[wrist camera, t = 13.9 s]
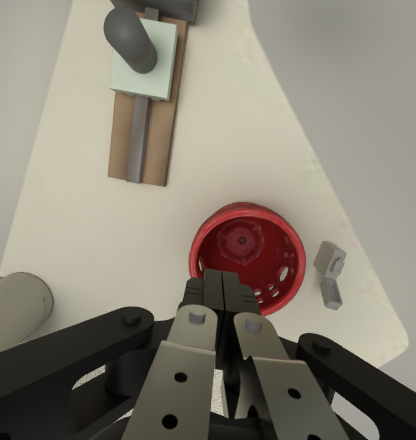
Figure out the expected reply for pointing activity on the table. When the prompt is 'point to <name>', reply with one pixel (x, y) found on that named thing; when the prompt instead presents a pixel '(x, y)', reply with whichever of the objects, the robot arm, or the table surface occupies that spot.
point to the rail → (155, 126)
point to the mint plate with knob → (140, 54)
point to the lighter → (330, 273)
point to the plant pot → (251, 252)
